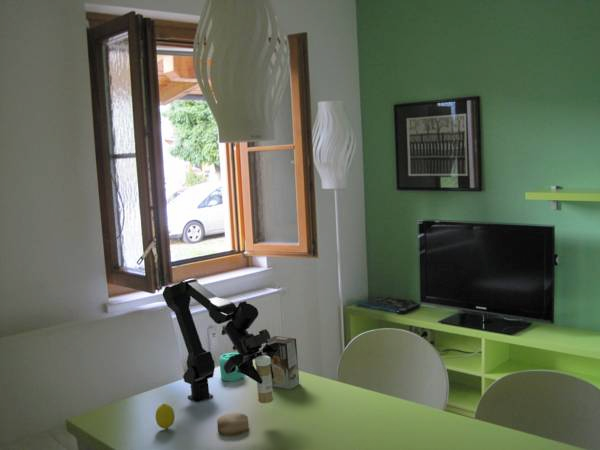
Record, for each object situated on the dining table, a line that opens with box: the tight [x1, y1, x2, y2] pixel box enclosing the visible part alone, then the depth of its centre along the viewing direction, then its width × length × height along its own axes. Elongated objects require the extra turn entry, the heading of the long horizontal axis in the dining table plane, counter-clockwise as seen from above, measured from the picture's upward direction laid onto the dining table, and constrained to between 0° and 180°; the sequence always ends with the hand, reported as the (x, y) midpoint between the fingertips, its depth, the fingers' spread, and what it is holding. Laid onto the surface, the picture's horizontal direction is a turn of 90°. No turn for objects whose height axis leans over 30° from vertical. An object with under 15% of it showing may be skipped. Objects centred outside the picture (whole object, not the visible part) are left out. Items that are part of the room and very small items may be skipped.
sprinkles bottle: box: [254, 356, 274, 404], centre depth 199 cm, size 5×5×13 cm
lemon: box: [155, 403, 176, 430], centre depth 200 cm, size 6×6×8 cm
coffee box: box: [265, 335, 300, 390], centre depth 229 cm, size 9×6×16 cm
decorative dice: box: [219, 352, 245, 382], centre depth 240 cm, size 8×8×8 cm
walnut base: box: [216, 412, 249, 437], centre depth 197 cm, size 9×9×3 cm
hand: (267, 380), depth 198 cm, fingers closed on sprinkles bottle, 4 cm apart
